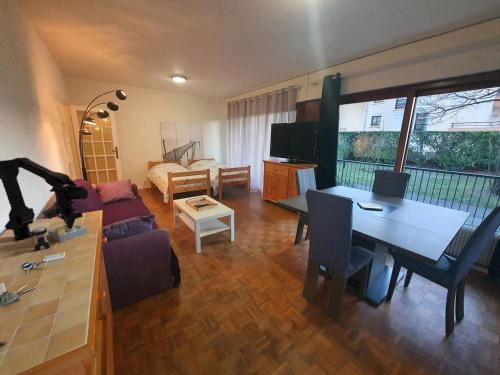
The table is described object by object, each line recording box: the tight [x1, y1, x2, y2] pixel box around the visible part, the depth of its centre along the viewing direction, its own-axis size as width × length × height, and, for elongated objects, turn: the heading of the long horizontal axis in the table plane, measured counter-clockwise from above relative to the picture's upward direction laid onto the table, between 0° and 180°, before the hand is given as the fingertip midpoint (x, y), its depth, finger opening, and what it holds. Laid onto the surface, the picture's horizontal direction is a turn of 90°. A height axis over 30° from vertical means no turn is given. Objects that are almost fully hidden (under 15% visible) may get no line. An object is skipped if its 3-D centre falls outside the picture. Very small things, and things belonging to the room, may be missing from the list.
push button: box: [30, 226, 51, 252], centre depth 95 cm, size 7×5×10 cm
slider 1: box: [54, 226, 65, 235], centre depth 105 cm, size 2×3×3 cm
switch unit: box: [47, 224, 88, 243], centre depth 111 cm, size 14×12×3 cm
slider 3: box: [73, 219, 80, 227], centre depth 115 cm, size 2×3×3 cm
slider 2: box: [62, 224, 73, 231], centre depth 109 cm, size 2×3×3 cm
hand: (70, 228), depth 108 cm, fingers closed
